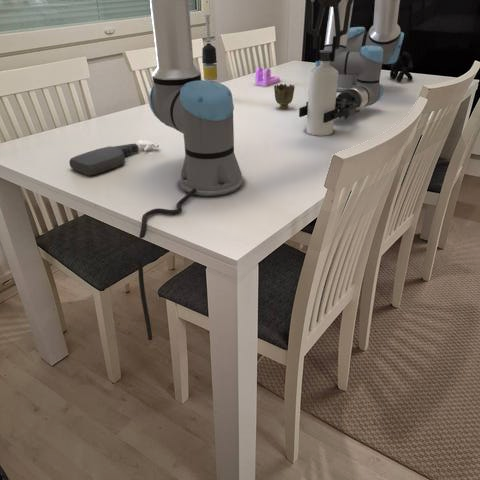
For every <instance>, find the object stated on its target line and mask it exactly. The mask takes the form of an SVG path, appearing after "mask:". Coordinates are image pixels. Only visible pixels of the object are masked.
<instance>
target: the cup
mask: <svg viewBox="0 0 480 480" xmlns="http://www.w3.org/2000/svg"><path fill="white" fill-rule="evenodd" d="M295 88H296V87H295V85H294V84H291V83H290V84H289V85H287V83H284V84H283V83H280V84H276V85H274V86H273V91H274V99H275V102H276V103H277V104H278V108H279V109H281V110H287V109H289V106H290V104H291V103H292V102H293V100H294V93H295Z"/></svg>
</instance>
